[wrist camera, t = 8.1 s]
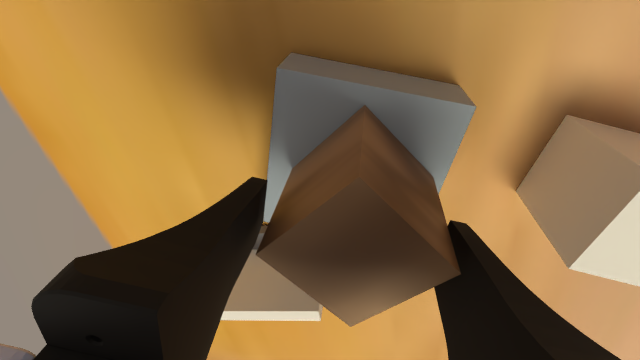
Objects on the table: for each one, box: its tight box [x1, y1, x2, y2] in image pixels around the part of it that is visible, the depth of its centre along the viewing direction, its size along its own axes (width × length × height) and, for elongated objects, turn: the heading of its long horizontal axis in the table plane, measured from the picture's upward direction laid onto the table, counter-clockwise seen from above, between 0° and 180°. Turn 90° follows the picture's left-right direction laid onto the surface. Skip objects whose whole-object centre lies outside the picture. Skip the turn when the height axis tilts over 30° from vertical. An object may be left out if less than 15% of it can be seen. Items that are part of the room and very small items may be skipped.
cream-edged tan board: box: [221, 226, 323, 321], centre depth 21 cm, size 7×4×6 cm, turn 99°
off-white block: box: [516, 115, 640, 286], centre depth 15 cm, size 5×5×6 cm
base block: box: [264, 53, 476, 222], centre depth 18 cm, size 8×8×4 cm
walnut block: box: [256, 105, 461, 327], centre depth 14 cm, size 5×5×6 cm
